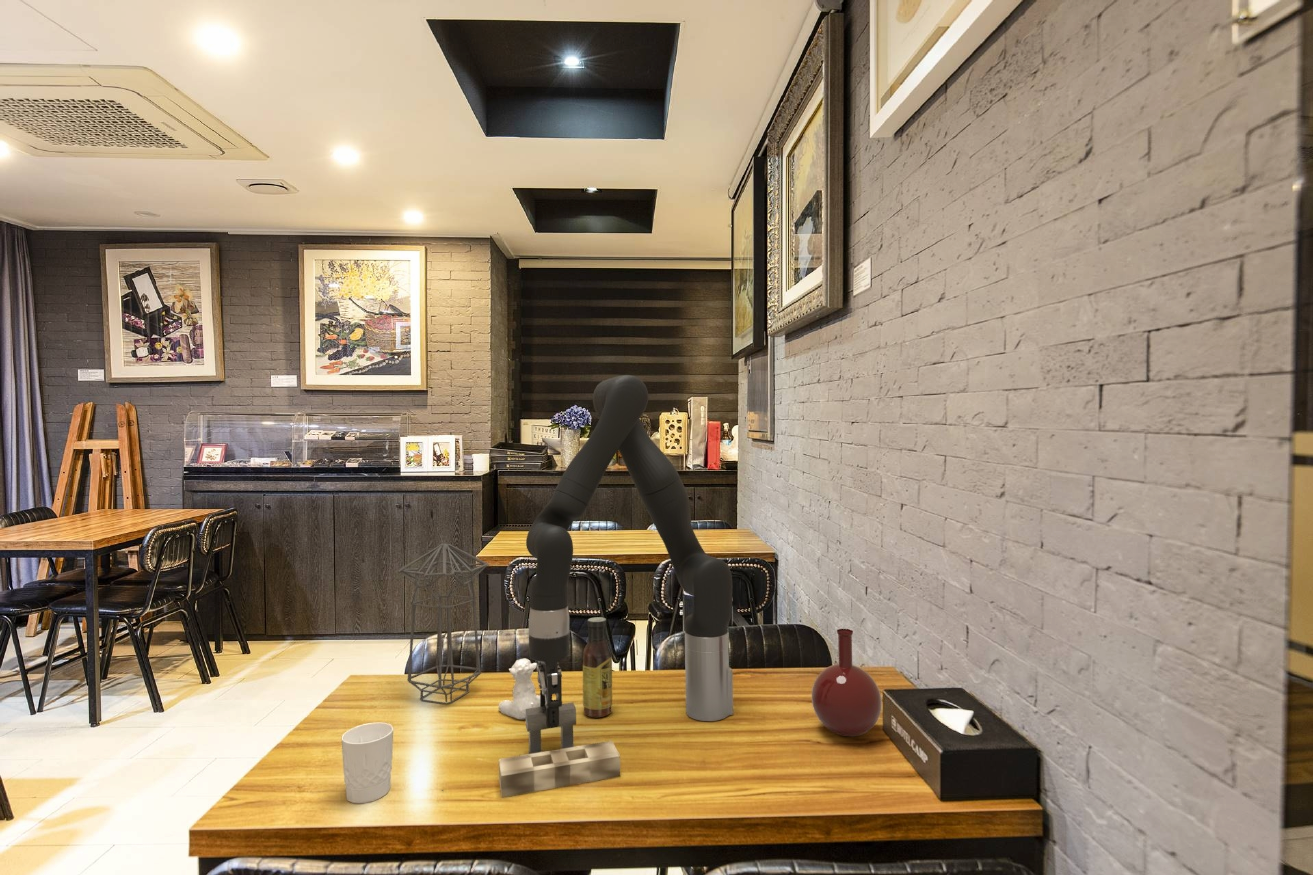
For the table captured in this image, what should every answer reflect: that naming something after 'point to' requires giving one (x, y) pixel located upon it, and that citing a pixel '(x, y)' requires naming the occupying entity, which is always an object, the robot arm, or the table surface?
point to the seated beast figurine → (521, 691)
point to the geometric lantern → (406, 573)
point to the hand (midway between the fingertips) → (549, 717)
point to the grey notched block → (538, 723)
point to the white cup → (367, 761)
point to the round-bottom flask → (846, 694)
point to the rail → (558, 768)
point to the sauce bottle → (597, 671)
